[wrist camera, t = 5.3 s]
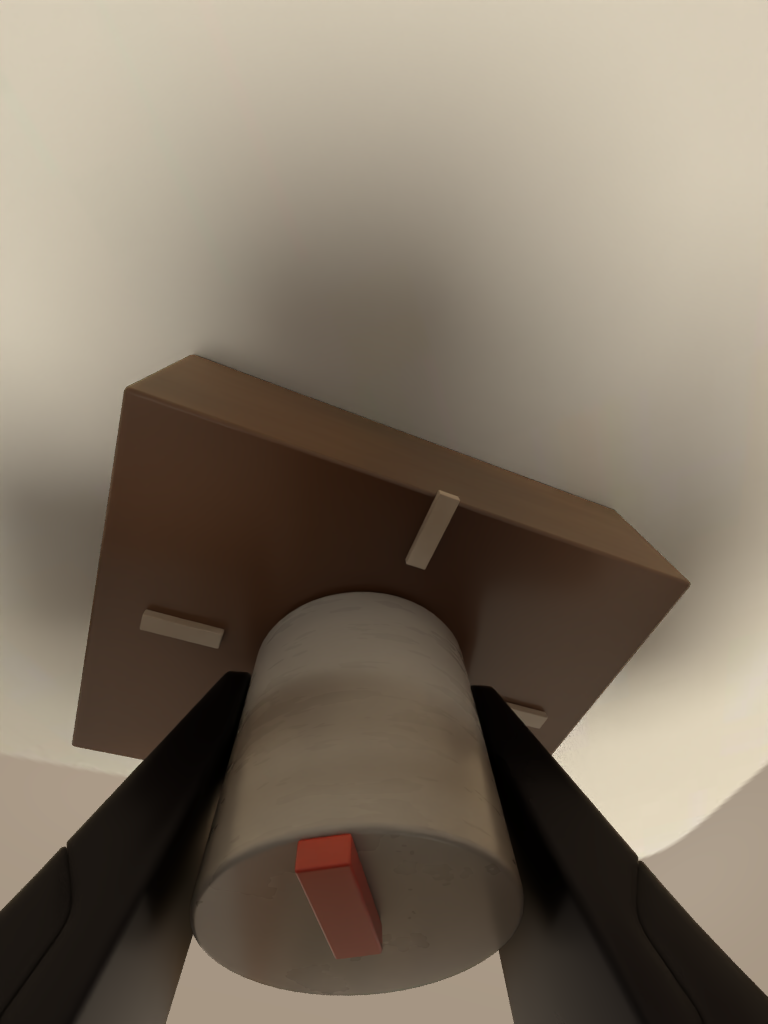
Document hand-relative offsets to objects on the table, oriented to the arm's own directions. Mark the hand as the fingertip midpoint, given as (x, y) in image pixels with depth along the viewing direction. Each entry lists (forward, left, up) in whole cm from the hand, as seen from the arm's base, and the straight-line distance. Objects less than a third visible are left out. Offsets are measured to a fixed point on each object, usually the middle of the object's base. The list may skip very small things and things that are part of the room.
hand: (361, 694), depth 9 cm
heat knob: (0, 0, 0) cm, 0 cm away
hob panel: (0, 0, -4) cm, 4 cm away
